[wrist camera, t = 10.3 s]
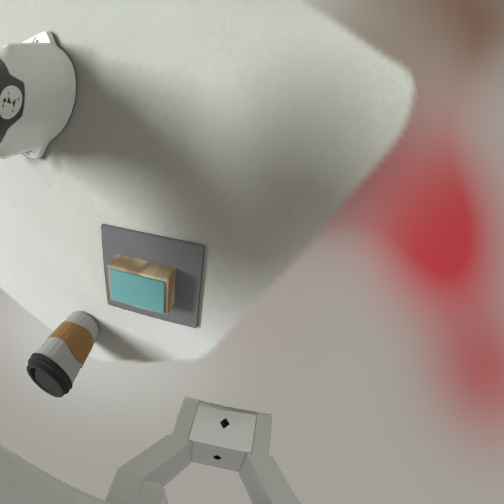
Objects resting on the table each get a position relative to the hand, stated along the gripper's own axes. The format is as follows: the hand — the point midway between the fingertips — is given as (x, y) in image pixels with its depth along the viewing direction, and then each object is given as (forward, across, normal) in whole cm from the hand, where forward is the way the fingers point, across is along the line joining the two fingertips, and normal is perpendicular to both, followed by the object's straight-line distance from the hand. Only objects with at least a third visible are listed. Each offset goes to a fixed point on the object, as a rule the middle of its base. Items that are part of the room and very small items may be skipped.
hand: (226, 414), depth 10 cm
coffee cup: (+29, +28, +31) cm, 51 cm away
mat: (+29, +15, +17) cm, 37 cm away
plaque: (+27, +11, +17) cm, 34 cm away
